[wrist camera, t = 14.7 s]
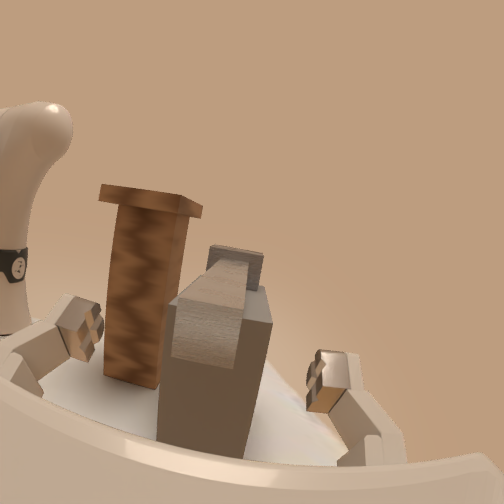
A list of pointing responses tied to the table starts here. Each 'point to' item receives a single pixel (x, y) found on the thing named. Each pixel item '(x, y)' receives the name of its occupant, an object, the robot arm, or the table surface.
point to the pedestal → (214, 387)
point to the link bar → (215, 307)
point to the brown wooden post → (142, 279)
